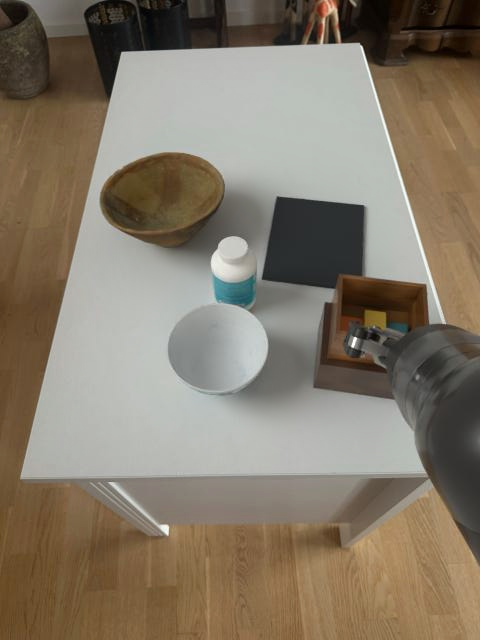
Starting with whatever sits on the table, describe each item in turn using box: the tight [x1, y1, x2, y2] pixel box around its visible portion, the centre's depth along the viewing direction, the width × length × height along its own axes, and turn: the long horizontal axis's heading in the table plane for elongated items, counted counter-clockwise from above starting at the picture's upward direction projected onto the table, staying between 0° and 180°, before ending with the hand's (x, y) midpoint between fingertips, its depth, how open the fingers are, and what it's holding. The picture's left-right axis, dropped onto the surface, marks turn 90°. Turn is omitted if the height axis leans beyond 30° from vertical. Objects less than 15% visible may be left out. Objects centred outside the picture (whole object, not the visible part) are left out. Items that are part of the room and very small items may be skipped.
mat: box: [261, 195, 365, 290], centre depth 86 cm, size 18×22×1 cm
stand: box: [312, 301, 395, 401], centre depth 68 cm, size 14×11×8 cm
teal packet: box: [386, 322, 408, 334], centre depth 64 cm, size 4×3×1 cm, turn 80°
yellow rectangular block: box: [363, 310, 386, 330], centre depth 63 cm, size 4×3×1 cm, turn 170°
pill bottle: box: [210, 235, 258, 311], centre depth 73 cm, size 8×7×14 cm
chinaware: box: [166, 302, 270, 397], centre depth 68 cm, size 15×15×8 cm
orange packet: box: [340, 316, 363, 331], centre depth 64 cm, size 4×3×1 cm, turn 80°
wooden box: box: [328, 274, 430, 366], centre depth 62 cm, size 12×10×7 cm
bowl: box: [99, 151, 226, 248], centre depth 84 cm, size 22×23×10 cm
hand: (413, 348), depth 46 cm, fingers open, 8 cm apart
